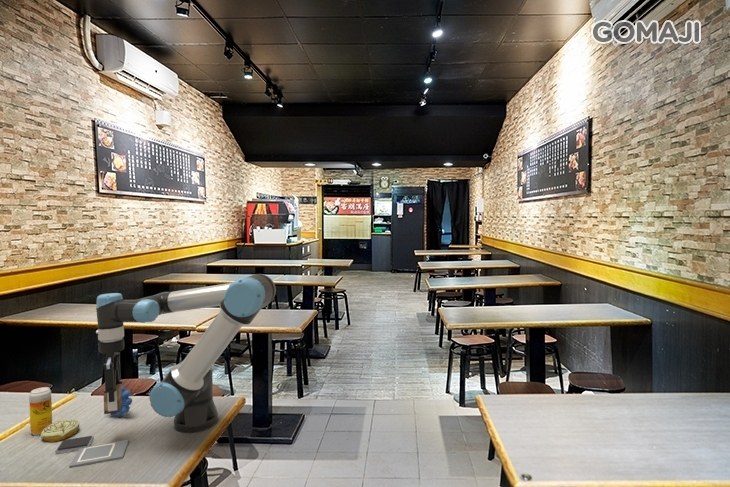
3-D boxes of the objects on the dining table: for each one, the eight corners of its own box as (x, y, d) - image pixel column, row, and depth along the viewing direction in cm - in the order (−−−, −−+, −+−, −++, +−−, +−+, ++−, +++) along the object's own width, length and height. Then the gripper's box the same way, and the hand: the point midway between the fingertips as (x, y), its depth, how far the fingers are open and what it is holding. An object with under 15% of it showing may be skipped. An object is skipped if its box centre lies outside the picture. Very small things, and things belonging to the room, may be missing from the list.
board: (128, 441, 140) (128, 439, 140) (122, 458, 130) (122, 455, 130) (79, 449, 135) (79, 447, 135) (69, 467, 125) (69, 465, 125)
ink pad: (93, 438, 142) (93, 434, 142) (88, 448, 135) (88, 444, 135) (62, 443, 139) (62, 439, 139) (55, 454, 132) (55, 450, 132)
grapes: (140, 413, 161) (140, 383, 160) (126, 421, 154) (125, 389, 154) (116, 410, 164) (115, 380, 163) (101, 417, 157) (100, 386, 157)
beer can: (40, 436, 143) (38, 394, 143) (26, 435, 144) (24, 392, 144) (56, 428, 149) (55, 387, 149) (42, 427, 150) (41, 386, 150)
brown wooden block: (122, 406, 144) (121, 384, 144) (119, 412, 140) (118, 388, 140) (107, 409, 143) (106, 386, 142) (104, 414, 138) (103, 390, 138)
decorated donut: (33, 444, 139) (33, 433, 139) (55, 428, 150) (55, 418, 150) (66, 442, 140) (65, 431, 140) (85, 427, 150) (85, 417, 150)
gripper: (104, 334, 147) (107, 399, 148) (91, 347, 131) (95, 420, 132) (128, 332, 150) (131, 396, 151) (118, 344, 134) (122, 416, 134)
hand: (114, 407), depth 141 cm, fingers closed on brown wooden block, 4 cm apart
